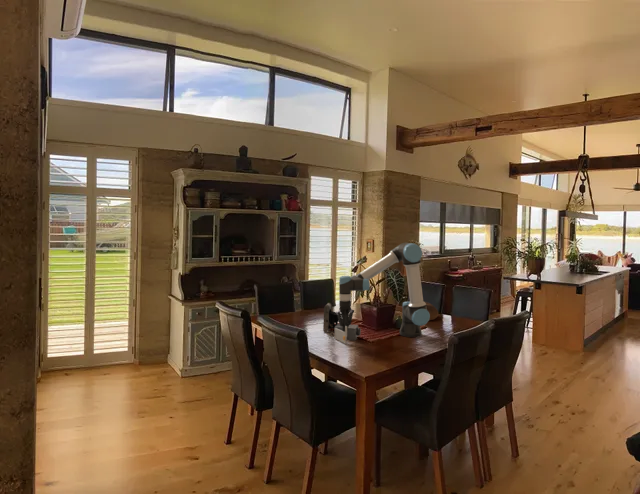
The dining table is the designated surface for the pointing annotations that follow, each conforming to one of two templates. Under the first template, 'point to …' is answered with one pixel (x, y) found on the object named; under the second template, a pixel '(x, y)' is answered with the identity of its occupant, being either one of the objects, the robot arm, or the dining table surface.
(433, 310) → the bread
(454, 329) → the dining table surface
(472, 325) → the dining table surface
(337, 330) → the side door
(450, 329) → the dining table surface
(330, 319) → the vintage camera
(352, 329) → the cabinet with round knob
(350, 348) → the dining table surface
